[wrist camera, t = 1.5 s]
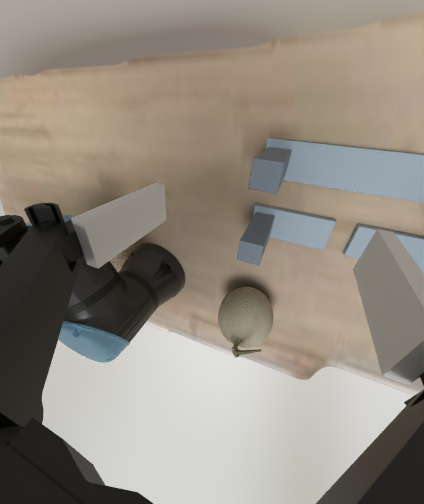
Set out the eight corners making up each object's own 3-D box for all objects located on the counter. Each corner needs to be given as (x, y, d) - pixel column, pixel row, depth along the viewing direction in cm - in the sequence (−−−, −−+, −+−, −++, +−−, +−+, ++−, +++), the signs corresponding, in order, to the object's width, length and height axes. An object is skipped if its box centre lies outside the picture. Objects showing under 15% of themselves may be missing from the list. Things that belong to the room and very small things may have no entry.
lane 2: (261, 175, 31) (242, 196, 23) (268, 137, 28) (250, 146, 20) (527, 217, 23) (656, 277, 14) (576, 170, 20) (772, 210, 11)
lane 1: (250, 230, 37) (232, 264, 28) (255, 203, 34) (237, 232, 25) (322, 247, 33) (326, 291, 25) (335, 219, 30) (344, 258, 22)
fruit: (228, 309, 50) (203, 367, 38) (229, 271, 44) (199, 327, 32) (273, 321, 46) (260, 389, 35) (280, 282, 40) (267, 350, 28)
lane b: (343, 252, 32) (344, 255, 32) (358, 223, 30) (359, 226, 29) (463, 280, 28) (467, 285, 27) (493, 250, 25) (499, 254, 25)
